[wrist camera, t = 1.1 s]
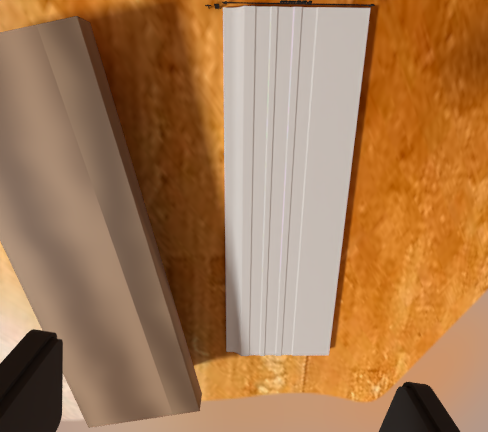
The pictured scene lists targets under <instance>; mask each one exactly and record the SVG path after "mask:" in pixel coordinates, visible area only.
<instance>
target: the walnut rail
mask: <svg viewBox="0 0 488 432" xmlns="http://www.w3.org/2000/svg"><path fill="white" fill-rule="evenodd" d="M0 241H1V243H2V245H3V248H4V250H5V252H6V254H7V256H8V258H9V260H10V262H11V264H12V267H13V269H14V271H15V273H16V275H17V277H18V279H19V281H20V283H21V286H22V288H23V290H24V292H25V294H26V296H27V298H28V300H29V302H30V305H31V307H32V309H33V311H34V313H35V315H36V317H37V319H38V322H39V324H40V326H41V328H42V330H43V331H48V332H55V333H56V334H57V339H62V341H63V374H64V376H65V379H66V381H67V383H68V385H69V387H70V389H71V391H72V393H73V395H74V398H75V400H76V402H77V404H78V406H79V408H80V410H81V412H82V414H83V417H84V419H85V421H86V423H87V425H88V427H89V428H90V427H97V426H104V425H110V424H117V423H123V422H130V421H137V420H143V419H149V418H157V417H163V416H169V415H176V414H183V413H190V412H196V411H200V404H201V396H202V393H201V389H200V386H199V383H198V380H197V376H196V373H195V370H194V366H193V363H192V360H191V356H190V353H189V350H188V346H187V343H186V340H185V336H184V333H183V330H182V326H181V323H180V320H179V316H178V313H177V310H176V306H175V303H174V300H173V296H172V293H171V290H170V286H169V283H168V280H167V276H166V273H165V270H164V267H163V263H162V260H161V257H160V253H159V250H158V247H157V243H156V240H155V237H154V233H153V230H152V227H151V223H150V220H149V217H148V213H147V210H146V207H145V203H144V200H143V197H142V193H141V190H140V187H139V183H138V180H137V177H136V173H135V170H134V167H133V163H132V160H131V157H130V154H129V150H128V147H127V144H126V140H125V137H124V134H123V130H122V127H121V124H120V120H119V117H118V114H117V110H116V107H115V104H114V100H113V97H112V94H111V90H110V87H109V84H108V80H107V77H106V74H105V70H104V67H103V64H102V60H101V57H100V54H99V50H98V47H97V44H96V41H95V37H94V34H93V31H92V27H91V24H90V22H88V21H86V20H84V19H82V18H80V17H78V16H75V17H70V18H66V19H61V20H56V21H52V22H47V23H42V24H38V25H33V26H28V27H24V28H19V29H14V30H10V31H5V32H0Z"/></svg>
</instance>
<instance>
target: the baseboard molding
mask: <svg viewBox="0 0 488 432" xmlns="http://www.w3.org/2000/svg"><path fill="white" fill-rule="evenodd" d="M282 2H283V3H282ZM285 2H286V3H285ZM287 2H288V3H287ZM306 2H307V1H302V2H301V1H300V0H298V1H280V3H247V4H305V5H358V4H311V3H312V1H309V2H307V4H306ZM222 3H224V4H227V3H243V2H227V1H225V2H222ZM214 5H215V9H219V8H220V7H219V4H214ZM205 6H208V7H209V6H211V5H205ZM363 6H375V5H374V4H371V5H363ZM209 9H210V8H209ZM220 9H221V8H220ZM370 9H371V8H336V7H278V6H271V7H260V6H242V7H236V8H223V58H224V163H225V267H226V352H236V353H238V354H239V355H241V356H249V355H260V356H265V355H276V356H281V355H329V350H330V342H331V333H332V325H333V317H334V308H335V300H336V292H337V283H338V275H339V267H340V258H341V250H342V242H343V233H344V225H345V217H346V208H347V200H348V192H349V183H350V175H351V167H352V158H353V150H354V142H355V133H356V125H357V117H358V109H359V100H360V92H361V84H362V75H363V67H364V59H365V50H366V42H367V34H368V25H369V17H370Z"/></svg>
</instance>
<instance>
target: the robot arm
mask: <svg viewBox="0 0 488 432" xmlns="http://www.w3.org/2000/svg"><path fill="white" fill-rule="evenodd" d="M62 374H63V341H62V339H57V334H56V333H55V332H48V331H41V330H34V329H33V330H31V331H29V332H28V333H27V334H26V336H25V337H24V338H23V339H22V340H21V341H20V342H19V343H18V344H17V346H16V347H15V348H14V349H13V350H12V351H11V352H10V353H9V355H8V356H7V357H6V358H5V359H4V360H3V361H2V362H1V364H0V432H56V430H57V428H58V426H59V423H60V420H61V416H62ZM379 432H460V431H459V429H458V427H457V426H456V424H455V423H454V421H453V420H452V418H451V417H450V415H449V414H448V412H447V411H446V409H445V408H444V406H443V405H442V403H441V402H440V400H439V399H438V398H437V396H436V394H435V393H434V391H433V390H432V389H431V387H430V386H428V385H426V384H419V383H412V382H406V383H404V384H403V386H402V387H399V388H398V389H397V391H396V394H395V396H394V398H393V400H392V402H391V405H390V407H389V409H388V412H387V414H386V416H385V419H384V421H383V423H382V426H381V428H380V430H379Z"/></svg>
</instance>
